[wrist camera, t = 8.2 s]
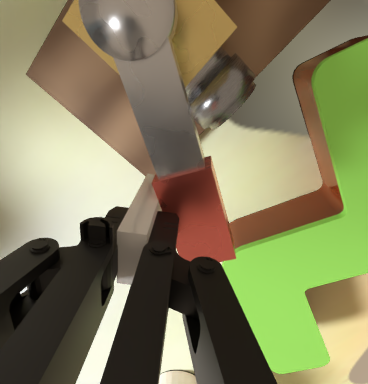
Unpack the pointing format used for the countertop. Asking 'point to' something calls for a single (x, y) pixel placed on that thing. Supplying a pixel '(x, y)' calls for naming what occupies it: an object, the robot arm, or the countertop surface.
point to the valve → (196, 59)
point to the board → (112, 84)
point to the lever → (164, 118)
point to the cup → (177, 378)
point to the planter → (310, 216)
